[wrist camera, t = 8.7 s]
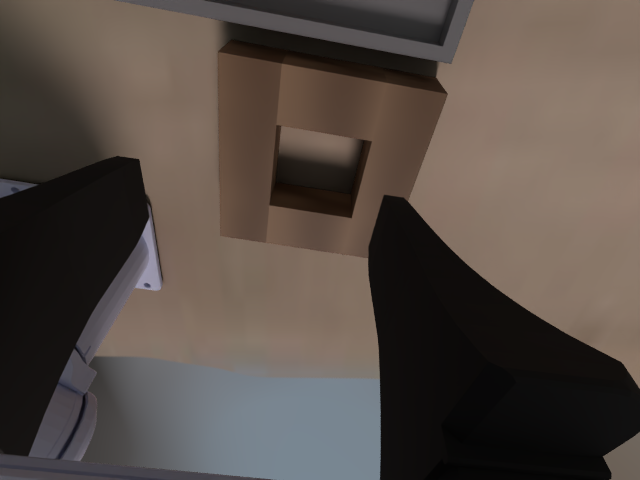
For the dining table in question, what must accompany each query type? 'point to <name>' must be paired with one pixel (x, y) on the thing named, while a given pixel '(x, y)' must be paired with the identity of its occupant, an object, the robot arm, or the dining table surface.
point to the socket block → (320, 116)
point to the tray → (346, 21)
